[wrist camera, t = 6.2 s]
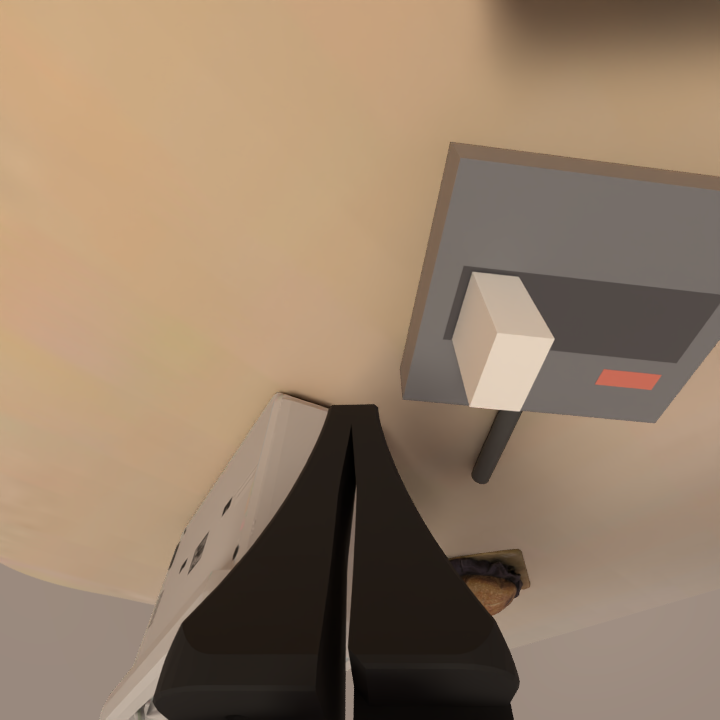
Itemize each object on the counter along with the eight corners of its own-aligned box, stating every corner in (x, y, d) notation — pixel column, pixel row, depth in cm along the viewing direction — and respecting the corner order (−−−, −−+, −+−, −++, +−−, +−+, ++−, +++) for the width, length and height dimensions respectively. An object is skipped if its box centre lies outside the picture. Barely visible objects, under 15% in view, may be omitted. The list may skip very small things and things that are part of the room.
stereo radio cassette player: (260, 557, 39) (187, 924, 23) (169, 531, 36) (16, 922, 21) (390, 419, 28) (419, 947, 12) (271, 366, 25) (111, 949, 9)
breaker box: (775, 184, 18) (824, 204, 16) (633, 392, 26) (655, 423, 24) (450, 142, 18) (460, 157, 16) (400, 369, 25) (402, 399, 23)
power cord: (526, 385, 26) (532, 399, 25) (486, 470, 30) (490, 484, 30) (506, 383, 25) (512, 398, 25) (470, 469, 30) (473, 483, 30)
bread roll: (519, 538, 37) (532, 582, 34) (530, 582, 42) (542, 624, 39) (400, 558, 39) (402, 600, 37) (423, 597, 44) (426, 638, 41)
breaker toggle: (518, 276, 18) (554, 339, 15) (493, 343, 20) (519, 411, 17) (472, 271, 18) (497, 333, 15) (451, 339, 20) (469, 406, 17)
